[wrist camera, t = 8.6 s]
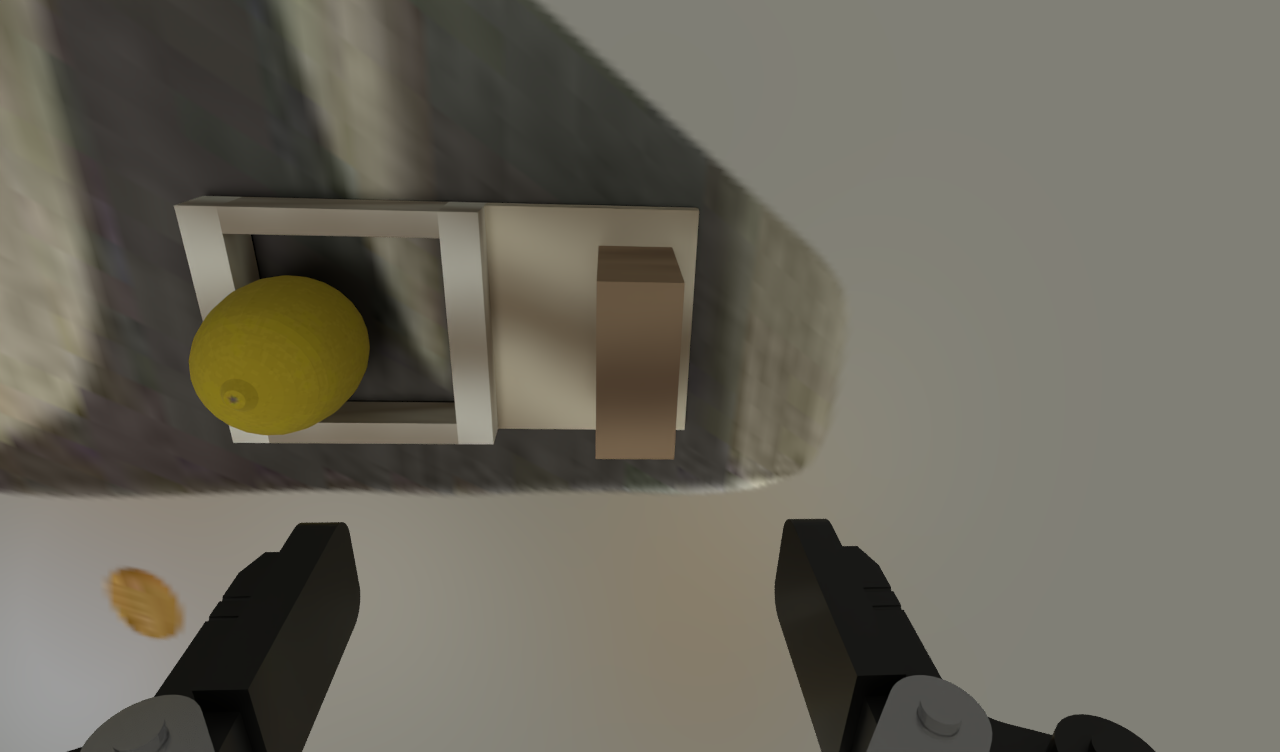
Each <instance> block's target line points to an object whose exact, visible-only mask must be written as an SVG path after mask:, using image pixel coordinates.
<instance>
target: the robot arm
mask: <svg viewBox="0 0 1280 752" xmlns="http://www.w3.org/2000/svg"><path fill="white" fill-rule="evenodd" d="M775 604H776V611H777V615H778V619H779V622H780V625H781V628H782V631H783V634H784V637H785V640H786V643H787V647H788V649H789V653H790V656H791V659H792V662H793V665H794V668H795V671H796V674H797V677H798V680H799V684H800V687H801V690H802V693H803V696H804V698H805V702H806V705H807V708H808V711H809V714H810V717H811V720H812V723H813V726H814V730H815V733H816V736H817V739H818V742H819V745H820V748H821V751H822V752H1155V751H1154V750H1153V749H1152V748H1151V747H1150V746H1149V745H1148V744H1147V743H1146V742H1144V741H1143V740H1142V739H1141V738H1140V737H1138V736H1137V735H1135V734H1134V733H1132V732H1131V731H1129V730H1128V729H1126V728H1124V727H1122V726H1120V725H1118V724H1116V723H1114V722H1112V721H1110V720H1107V719H1103V718H1101V717H1097V716H1092V715H1084V714H1081V715H1072V716H1068V717H1066V718H1064V719H1062V720H1061V721H1060V722H1059V723H1058V725H1057V727H1056V729H1055V731H1054V733H1053V735H1050V734H1045V733H1042V732H1038V731H1034V730H1030V729H1026V728H1022V727H1018V726H1014V725H1010V724H1006V723H1003V722H1000V721H997V720H994V719H992V718H989V717H987V715H986V713H985V711H984V710H983V709H982V708H981V706H980V705H979V704H978V703H977V702H976V700H975V699H974V698H973V697H971V696H970V695H969V694H968V693H967V692H965V691H964V690H962V689H961V688H959V687H958V686H956V685H954V684H952V683H950V682H948V681H946V680H943V679H942V678H941V677H940V675H939V673H938V671H937V669H936V667H935V666H934V664H933V662H932V660H931V658H930V657H929V655H928V653H927V651H926V650H925V648H924V646H923V644H922V642H921V641H920V639H919V637H918V635H917V633H916V631H915V630H914V628H913V626H912V624H911V622H910V621H909V619H908V617H907V615H906V613H905V612H904V610H901V605H900V603H899V601H898V599H897V597H896V595H895V594H894V592H893V591H891V587H890V585H889V583H888V581H887V579H886V577H885V576H884V574H883V572H882V570H881V568H880V566H879V565H878V564H877V563H876V562H875V561H873V560H872V559H871V558H870V557H869V556H868V555H867V554H866V553H864V552H863V551H862V550H861V549H860V548H859V547H858V546H842V545H841V543H840V541H839V539H838V537H837V535H836V533H835V531H834V529H833V527H832V525H831V523H830V522H829V521H828V520H827V519H788V520H786V522H785V524H784V528H783V534H782V540H781V547H780V553H779V560H778V566H777V573H776V579H775ZM359 606H360V586H359V581H358V575H357V570H356V565H355V559H354V554H353V549H352V543H351V538H350V533H349V529H348V526H347V525H346V524H345V523H343V522H340V523H339V522H338V523H337V522H334V523H333V522H331V523H300V524H298V525H297V526H296V527H295V529H294V530H293V531H292V533H291V534H290V536H289V538H288V539H287V541H286V543H285V544H284V546H283V547H282V549H281V550H280V552H265V553H264V554H262V555H261V556H260V557H259V558H257V559H256V560H255V561H254V562H252V563H251V564H250V565H248V566H247V567H246V568H245V569H243V570H242V571H241V572H240V573H239V574H238V575H237V576H236V578H235V579H234V581H233V582H232V584H231V585H230V587H229V588H228V590H227V591H226V593H225V594H224V595H223V600H222V602H221V601H220V602H219V603H218V604H217V606H216V607H215V609H214V610H213V612H212V613H211V614H210V616H209V621H207V622H205V623H204V625H203V626H202V628H201V629H200V630H199V632H198V633H197V635H196V636H195V638H194V639H193V641H192V642H191V644H190V645H189V647H188V648H187V649H186V651H185V653H184V654H183V655H182V657H181V658H180V660H179V661H178V663H177V664H176V666H175V667H174V668H173V670H172V671H171V673H170V674H169V676H168V677H167V679H166V680H165V682H164V683H163V685H162V686H161V687H160V689H159V690H158V692H157V693H156V695H155V696H154V697H153V698H149V699H146V700H143V701H141V702H138V703H136V704H134V705H131V706H129V707H127V708H125V709H123V710H122V711H120V712H119V713H117V714H115V715H114V716H112V717H111V718H110V719H108V720H107V721H106V722H105V723H103V724H102V725H101V726H100V727H99V728H98V729H97V730H96V731H95V732H94V733H93V734H92V735H91V736H90V737H89V738H88V740H87V741H86V743H85V744H84V746H83V747H81V748H78V749H75V750H71V751H68V752H302V750H303V748H304V746H305V743H306V741H307V738H308V736H309V734H310V731H311V729H312V726H313V724H314V721H315V719H316V717H317V715H318V712H319V710H320V707H321V705H322V703H323V700H324V698H325V696H326V693H327V691H328V688H329V686H330V684H331V681H332V679H333V677H334V674H335V672H336V669H337V667H338V665H339V662H340V660H341V657H342V655H343V653H344V650H345V648H346V646H347V643H348V641H349V638H350V636H351V633H352V631H353V629H354V626H355V624H356V621H357V617H358V613H359Z"/></svg>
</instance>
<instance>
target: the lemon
mask: <svg viewBox="0 0 1280 752" xmlns="http://www.w3.org/2000/svg"><path fill="white" fill-rule="evenodd" d="M369 351H370V345H369V338H368V331H367V328H366V326H365V323H364V321H363V318H362V316H361V314H360V313H359V311H358V310H357V309H356V307H355V306H354V304H353V303H352V302H351V301H350V300H349V299H348V298H347V297H345V296H344V295H343V294H342V293H341V292H340V291H338V290H336V289H335V288H333V287H331V286H330V285H328V284H326V283H324V282H321V281H318V280H315V279H311V278H308V277H301V276H290V275H283V276H276V277H270V278H264V279H260V280H257V281H254V282H252V283H250V284H248V285H245V286H243V287H241V288H239V289H237V290H235V291H233V292H232V293H230V294H229V295H228V296H226V297H225V298H224V299H223V300H222V301H221V302H220V303H219V304H218V305H216V306H215V307H214V308H213V309H212V310H211V311H210V312H209V314H208V315H207V316H206V318H205V319H204V321H203V323H202V324H201V326H200V328H199V330H198V331H197V333H196V335H195V337H194V339H193V342H192V347H191V352H190V357H189V368H190V376H191V381H192V384H193V386H194V389H195V391H196V394H197V395H198V397H199V398H200V400H201V401H202V402H203V404H204V405H205V407H206V408H207V409H208V410H210V411H211V412H212V413H213V414H214V415H215V416H216V417H217V418H219V419H220V420H222V421H223V422H225V423H227V424H228V425H230V426H231V427H234V428H237V429H239V430H242V431H244V432H247V433H253V434H259V435H285V434H289V433H293V432H296V431H300V430H304V429H307V428H309V427H311V426H313V425H315V424H317V423H318V422H320V421H322V420H324V419H325V418H327V417H329V416H330V415H332V414H333V413H335V412H336V411H337V410H338V409H340V407H341V406H342V405H343V404H344V403H345V402H346V401H347V400H348V399H349V398H350V397H351V396H352V395H353V394H354V392H355V391H356V389H357V388H358V386H359V384H360V382H361V379H362V377H363V375H364V373H365V371H366V368H367V364H368V358H369Z"/></svg>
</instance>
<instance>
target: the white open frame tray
mask: <svg viewBox="0 0 1280 752" xmlns="http://www.w3.org/2000/svg"><path fill="white" fill-rule="evenodd" d="M174 208H175V212H176V216H177V220H178V224H179V228H180V232H181V236H182V240H183V244H184V248H185V252H186V256H187V260H188V264H189V268H190V272H191V275H192V279H193V283H194V287H195V291H196V295H197V299H198V303H199V307H200V311H201V315H202V319H203V321H204V319H205V318H206V316H207V315H208V314H209V312H210V311H211V310H212V309H213V308H214V307H215V306H216V305H218V304H219V303H220V302H221V301H222V300H223V299H224V298H225V297H226V296H228V295H229V294H230V293H232V292H233V291H235V290H237V289H239V288H241V287H243V286H245V285H248V284H250V283H252V282H254V281H257V280H260V277H259V272H258V267H257V262H256V257H255V253H254V248H253V243H252V238H251V234H267V235H314V236H360V237H407V238H440V248H441V258H442V269H443V280H444V291H445V302H446V313H447V324H448V335H449V345H450V356H451V367H452V378H453V389H454V400H455V403H445V402H345V403H344V404H343V405H342V406H341V407H340V409H338V410H337V411H336V412H335V413H333V414H332V415H330V416H329V417H327V418H325V419H324V420H322V421H320V422H318V423H317V424H315V425H313V426H311V427H309V428H307V429H304V430H300V431H296V432H293V433H289V434H285V435H259V434H253V433H247V432H244V431H242V430H239V429H237V428H234V427H231V426H230V425H229V427H230V431H231V435H232V439H233V443H364V444H494V441H495V438H496V434H497V431H498V429H596V459H674V451H675V435H676V430H684V429H685V415H686V400H687V385H688V370H689V355H690V340H691V325H692V310H693V295H694V280H695V266H696V251H697V236H698V221H699V210H698V208H687V207H646V206H604V205H563V204H521V203H480V202H439V201H397V200H356V199H314V198H273V197H231V196H202V197H198V198H195V199H192V200H189V201H186V202H183V203H180V204H177V205H174Z"/></svg>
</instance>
